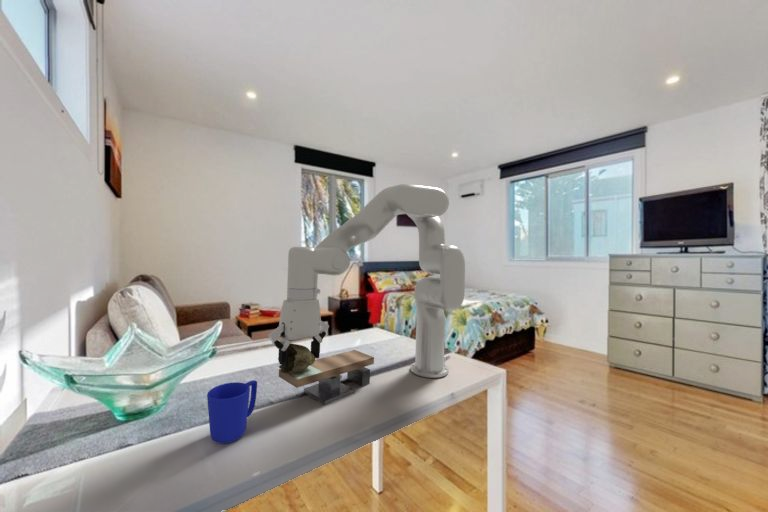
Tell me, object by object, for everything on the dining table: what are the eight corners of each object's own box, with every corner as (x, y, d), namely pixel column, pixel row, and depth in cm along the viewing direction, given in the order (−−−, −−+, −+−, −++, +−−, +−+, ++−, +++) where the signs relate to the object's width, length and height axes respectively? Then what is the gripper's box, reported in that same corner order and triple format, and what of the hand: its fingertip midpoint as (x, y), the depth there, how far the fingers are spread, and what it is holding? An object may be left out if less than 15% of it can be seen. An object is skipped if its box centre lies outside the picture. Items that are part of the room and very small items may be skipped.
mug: (269, 421, 75) (269, 378, 74) (228, 452, 63) (229, 402, 63) (241, 414, 77) (241, 373, 77) (197, 442, 66) (197, 395, 65)
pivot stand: (351, 375, 102) (351, 359, 102) (373, 385, 95) (373, 367, 95) (303, 392, 89) (304, 373, 89) (324, 405, 83) (325, 385, 82)
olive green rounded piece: (322, 368, 81) (295, 369, 76) (305, 376, 85) (278, 377, 80) (318, 340, 85) (292, 338, 79) (303, 349, 89) (277, 348, 83)
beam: (353, 358, 102) (353, 349, 102) (374, 367, 95) (375, 357, 95) (277, 379, 83) (278, 368, 83) (297, 392, 77) (298, 380, 77)
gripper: (321, 290, 91) (319, 350, 91) (263, 295, 78) (260, 364, 79) (337, 293, 86) (335, 357, 86) (277, 299, 73) (275, 373, 74)
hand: (299, 360), depth 82 cm, fingers closed on olive green rounded piece, 8 cm apart
